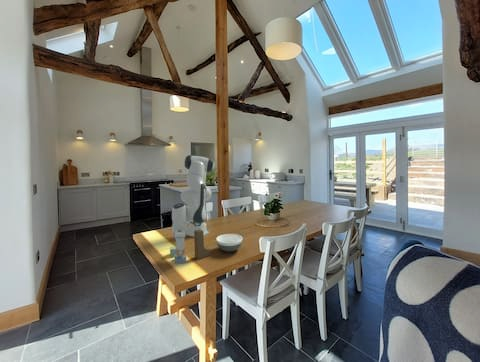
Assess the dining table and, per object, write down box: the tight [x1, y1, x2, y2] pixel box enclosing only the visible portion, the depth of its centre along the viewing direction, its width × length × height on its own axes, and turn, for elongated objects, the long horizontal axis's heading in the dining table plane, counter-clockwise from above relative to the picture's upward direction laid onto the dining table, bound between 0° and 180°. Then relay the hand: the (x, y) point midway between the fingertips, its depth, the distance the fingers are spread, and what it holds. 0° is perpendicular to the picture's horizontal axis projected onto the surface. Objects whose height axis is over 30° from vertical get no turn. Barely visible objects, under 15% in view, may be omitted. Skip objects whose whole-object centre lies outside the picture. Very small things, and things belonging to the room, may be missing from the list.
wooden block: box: [193, 229, 211, 260], centre depth 148 cm, size 9×4×18 cm, turn 130°
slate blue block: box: [174, 253, 187, 265], centre depth 143 cm, size 7×7×2 cm
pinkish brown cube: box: [175, 245, 186, 256], centre depth 142 cm, size 5×5×5 cm
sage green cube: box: [169, 245, 176, 258], centre depth 152 cm, size 5×5×5 cm
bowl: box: [215, 233, 244, 253], centre depth 160 cm, size 19×19×8 cm
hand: (180, 251), depth 143 cm, fingers closed on pinkish brown cube, 5 cm apart
